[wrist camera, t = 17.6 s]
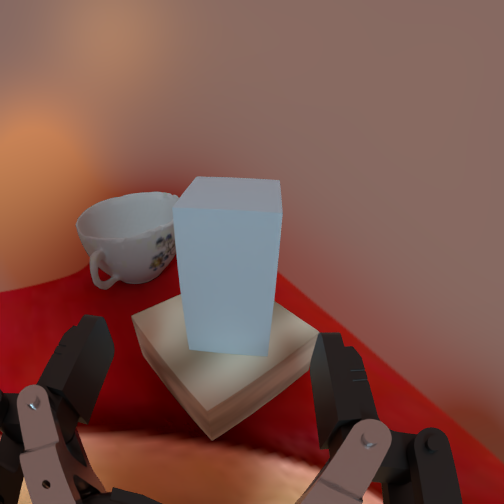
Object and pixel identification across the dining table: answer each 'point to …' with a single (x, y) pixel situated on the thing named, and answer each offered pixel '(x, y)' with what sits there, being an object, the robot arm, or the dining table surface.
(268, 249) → the pale blue tall cuboid
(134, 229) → the teacup
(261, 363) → the birch block
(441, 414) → the dining table surface
